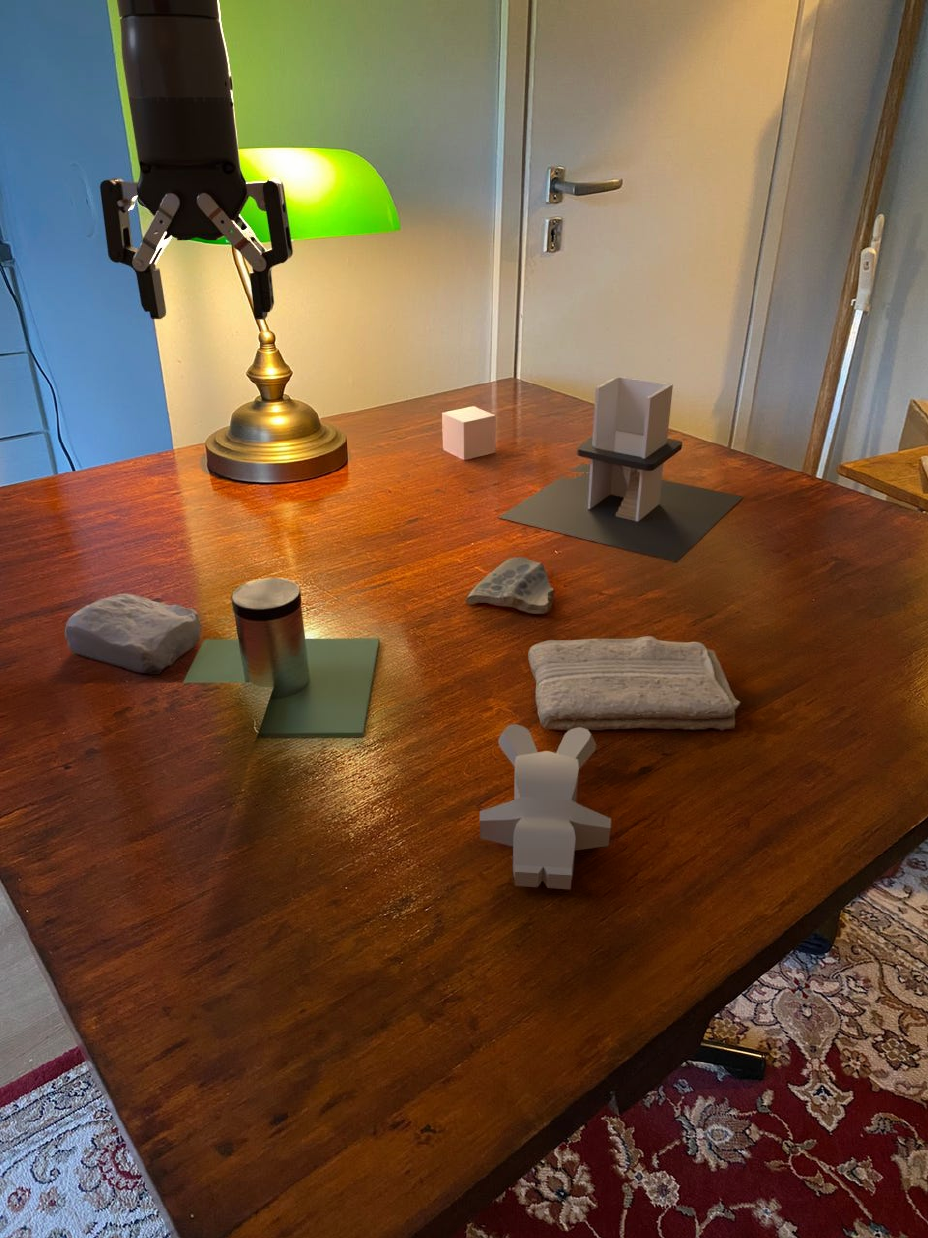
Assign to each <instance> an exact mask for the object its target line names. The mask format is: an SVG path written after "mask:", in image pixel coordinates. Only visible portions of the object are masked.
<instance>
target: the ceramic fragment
mask: <svg viewBox="0 0 928 1238" xmlns="http://www.w3.org/2000/svg"><path fill="white" fill-rule="evenodd" d="M554 599H555V590H554V588H553V587H552V586H551V584H550V580H549V577H548V574H547V571H546V569H545V567H544V565H543V563H542V562H541V561H534V560H531V559H528V558H526V557H523V556H520V557H519V556H517V557H510V558H507V559H506V560H505V561H503V562H501V564H499V565H498V566H497V567H495V569H493V570H492V571H490V573H488V574H487V575H486V576H485V577H484V578H483V579H482V580H481V581H479V582H478V583H477V584H476V585H475V587H473V589H472V590H471V591H470V592H469V594H468V595H467V597H466V598H465V604H467V605H470V606H471V605H476V604H479V603H480V604H482V603H483V604H490V605H493V606H498V607H509V608H514V609H516V610H519V611H521V612H525V613H528V614H533V615H542V614H548V613H549V612H551V611H552V606H553V602H554Z"/></svg>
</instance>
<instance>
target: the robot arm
mask: <svg viewBox="0 0 928 1238" xmlns="http://www.w3.org/2000/svg"><path fill="white" fill-rule="evenodd" d="M116 5H117V10H118V17H119V18H120V19H119V24H120V37H121V38H120V40H121V41H120V42H121V43H120V44H121V45H120V46H121V58H122V65H123V72H124V80H125V83H126V85H125V86H126V89H127V90H126V91H127V97H128V103H129V104H128V105H129V111H130V115H131V122H132V129H133V135H134V141H135V148H136V154H137V161H138V166H139V178H138V180H137V181H126V180H125V181H124V179H122V178H120V177H112V178H109V179H104V180H103V181H101V182H100V184H99V191H100V192H99V193H100V197H101V199H100V200H101V208H102V215H103V223H104V233H105V241H106V247H107V255H108V258H109V260H111V261H112V262H113V263H116V264H122V265H125V266H127V267H130V268H131V269H132V270H133V271H134V273H135V275H136V280H137V286H138V292H139V298H140V304H141V307H142V309H143V311H144V312H145V313H149V316H150V319H151V320H162V319H163V318H165V317H166V316H167V307H166V302H165V301H166V300H165V295H164V288H163V282H162V275H161V270H160V267H158V268H157V266H156V264H157V262H158V260H159V259H160V256H161V255H162V253H163V252H164V249H165V248H166V247H167V245H168V244H169V242H170V241H171V239H172V238H174V239H176V241H189V240H192V239H200V240H204V241H218V240H220V239H222V238H225V239H226V241H228V242H229V244H231V246H232V247H233V248H234V249H235V250H236V251H238V252H239V253H240V255H242V257H243V258H244V260H245V261H246V262H247V263H248V264H249V265H250V266H251V268H252V271H250V272H249V281H250V288H251V289H250V291H251V300H252V309H253V316H254V320H256V321H257V320H259V321H260V320H261V321H264V320H265V319H267V317H268V313H270V312H271V311H272V310H273V309H274V305H275V299H274V287H273V286H274V285H273V277H272V269H273V267H276V266H278V265H280V264H284V263H286V262H287V261H288V260H289V259H291V258H292V256H293V254H294V250H293V242H292V234H291V228H290V220H289V215H288V207H287V200H286V194H285V186H284V183H283V181H282V180H281V179H279V178H270V179H268V180H265V181H250V182H247V180H246V179H245V177H244V174H243V172H242V169H241V161H240V151H239V143H238V142H239V141H238V134H237V133H238V131H237V124H236V116H235V107H234V106H235V105H234V97H233V91H234V83H233V75H232V74H231V69H230V62H229V55H228V54H229V53H228V50H227V45H226V41H225V36H224V32H223V27H222V21H221V9H220V2H219V0H116ZM137 197H138V199H139V200H140V201H141V203H142V204H143V205H144V207H146V208H147V210H148V211H149V212H150V213H151V214H152V216H153V218H152V220H151V222H150V225H149V226H148V227H147V229H146V232H145V233H144V235H143V238H142V240H141V241H142V242H141V243H140V245H139V247H138V248H137V247H135V246H133V238H132V228H131V221H130V220H131V219H130V210H133V209H134V207H135V205H136V199H137ZM249 197H250V198H252V199H253V200H254V201H255V203H256V206H257V208H258V209H259V210H260V211H261V212H265V214H266V220H267V226H268V234H269V241H270V245H271V248H268V249H266V247H265V246H264V245H263V244H262V242H261V241H260V240H259V239H258V238H257V237H256V234H255V232H254V231H253V230H252V228H251V227H250V226H249V224H248V223H247V222H246V221H245V220H244V218H243V217H242V216H241V214H242V213H241V212H242V211H243V209H244V207H245V206H246V204H247V202H248V200H249Z"/></svg>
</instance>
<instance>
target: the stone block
mask: <svg viewBox="0 0 928 1238" xmlns="http://www.w3.org/2000/svg"><path fill="white" fill-rule="evenodd" d="M202 630H203V626H202V623H201V620H200V617H199V614H198V613H197V611H196V610H195V609H193V608H187V607H183V606H182V605H180V604H171V605H170V604H166V603H164V602H161V601H153V600H151V599H150V598H147V597H144V596H142V595H141V596H140V595H136V594H131V593H116V594H113V595H111V596H107V597H105V598H99V599H97V600H96V601H94V602H92V603H91V604H90V603H89V604H86V605H85V606H84V607H82V608H81V609H79V610H78V611H76V612H75V613H74V614H72V615H71V616H70V617H69V618H68V620H67V622H66V624H65V629H64V637H65V639H66V641H67V647H68V650H69V651H70V652H72V653H73V654H75V655H78V656H81V657H85V658H88V659H91V660H94V661H97V662H101V663H105V664H108V665H110V666H113V667H119V668H124V669H126V670H127V671H131V672H134V673H138V674H150V675H155V676H156V675H159V674H161V672H163V670H164V669H165V668H167V667H171V666H172V665H173V664H174V663H175V662H176V660H177V659H178V658H179V657H181V656H183V655H184V654H186V653H187V652H189V651H191V650H192V649H193V648H194V647H195V646H197V645H198V643H199V642H200V639H201V634H202Z"/></svg>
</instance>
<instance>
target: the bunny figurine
mask: <svg viewBox="0 0 928 1238" xmlns="http://www.w3.org/2000/svg"><path fill="white" fill-rule="evenodd" d="M497 742H498V747H499V748H500V750H502V752H503V753H504V754H505V756H506V758H507V759H508V760H509V762H510V763H511V764H512V765H513V767H514V782H513V783H514V784H513V785H514V787H513V789H514V790H513V795H514V796H513V798H514V799H512V800H510V801H506V802H504V803H500V804H497V805H494V806H492V807H488V808H485V809H482V810H480V811H479V839H481V840H485V841H489V842H493V843H497V844H501V845H504V846H508V847H513V848H512V849H513V850H512V872H513V873H512V874H513V878H514V887H529V888H538V887H539V886H540V885H541V883H542V882H543V883H544V885H545V886H546V888H547V889H559V890H572V881H573V876H574V866H575V852H576V851H581V850H589V849H595V848H601V847H602V848H604V847H609V846H610V836H611V827H612V817H611V818H610V817H609V816H606V815H604V814H602V813H600V812H597V811H595V810H593V809H590V808H589V807H586V806H584V805H582V804H580V803H577V798H578V797H577V796H578V783H579V770H580V769H581V768H582V767H583V766H584V764H585V763H586V762H587V761H588V760H589V758H590V757H591V756H592V755H593V754H594V753H595V752H596V749H597V743H596V741H595V739H594V737H593V735H592V733H591V732H590V730H588V729H585V728H581V727H579V728H574V729H571V730H569V731H568V730H567V731H566V732H565V733H564V735H563V737H562V739H561V742H560V744H559V745H558V748H557V750H556V752H554V751H548V750H544V751H538V749H537V747H536V744H535V741H534V739H533V736H532V734H531V732H530V731H529V729H527V727H525V726H523V725H520V724H516V723H514V724H508V725H507V726H506V727H505V728H504V729H503V731H502V733H501V734H500V736H499V737H498V740H497Z"/></svg>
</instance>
